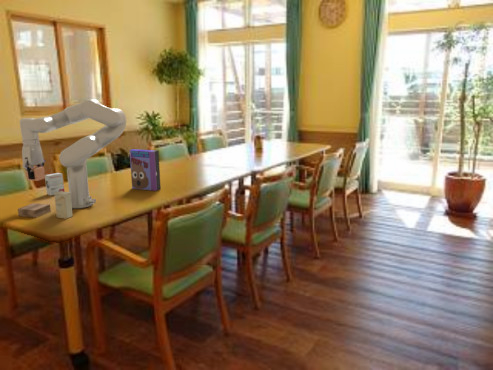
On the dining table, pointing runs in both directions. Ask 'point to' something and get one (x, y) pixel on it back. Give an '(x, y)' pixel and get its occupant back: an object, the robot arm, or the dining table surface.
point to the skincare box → (63, 204)
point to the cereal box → (145, 169)
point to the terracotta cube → (37, 173)
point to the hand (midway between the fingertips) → (36, 177)
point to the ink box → (54, 183)
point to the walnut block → (34, 210)
